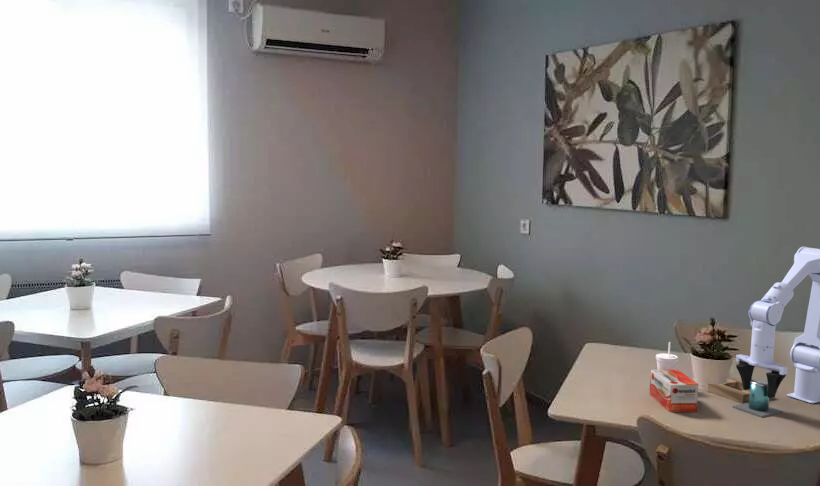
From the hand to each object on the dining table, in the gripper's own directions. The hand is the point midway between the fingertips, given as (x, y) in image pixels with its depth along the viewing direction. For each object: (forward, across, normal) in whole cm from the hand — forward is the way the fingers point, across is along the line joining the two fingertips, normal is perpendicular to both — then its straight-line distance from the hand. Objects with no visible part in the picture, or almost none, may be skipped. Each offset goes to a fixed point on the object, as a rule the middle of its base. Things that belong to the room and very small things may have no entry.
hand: (758, 393), depth 208 cm
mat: (+5, 0, 0) cm, 5 cm away
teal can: (+4, 0, 0) cm, 4 cm away
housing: (+5, -12, +7) cm, 14 cm away
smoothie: (+5, -26, -8) cm, 28 cm away
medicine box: (+5, -15, -17) cm, 23 cm away
